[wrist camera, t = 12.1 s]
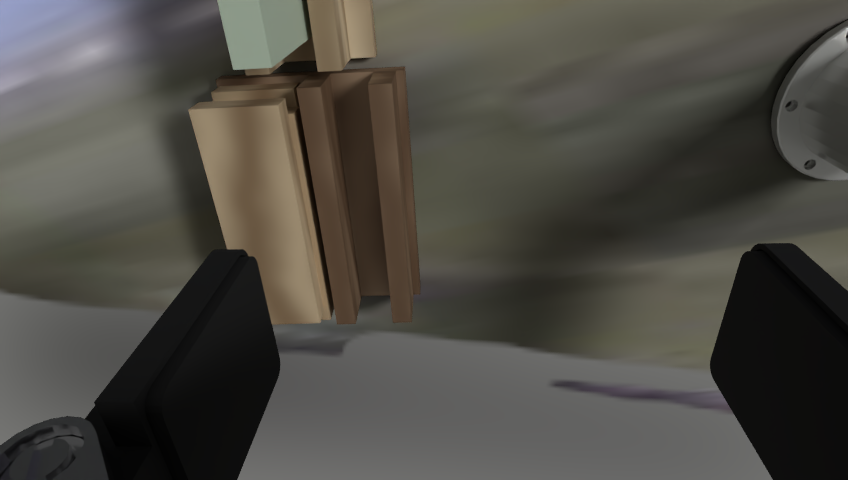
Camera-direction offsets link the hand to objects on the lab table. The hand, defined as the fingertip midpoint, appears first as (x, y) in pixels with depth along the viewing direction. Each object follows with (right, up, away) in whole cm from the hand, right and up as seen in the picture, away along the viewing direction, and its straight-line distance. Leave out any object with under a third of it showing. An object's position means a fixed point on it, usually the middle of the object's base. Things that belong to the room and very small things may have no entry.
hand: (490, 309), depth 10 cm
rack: (-9, +5, +34) cm, 36 cm away
